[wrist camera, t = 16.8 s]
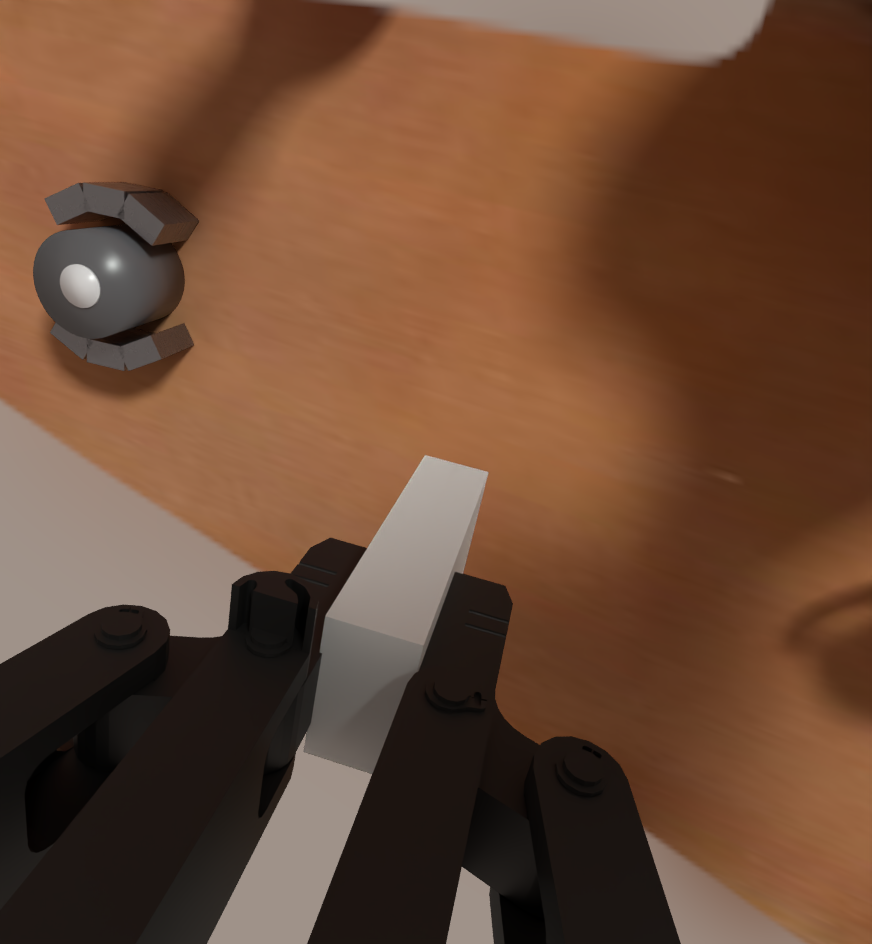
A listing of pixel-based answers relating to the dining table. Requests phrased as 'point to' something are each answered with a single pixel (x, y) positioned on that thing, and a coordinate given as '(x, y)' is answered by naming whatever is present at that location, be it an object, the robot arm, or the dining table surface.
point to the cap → (106, 280)
